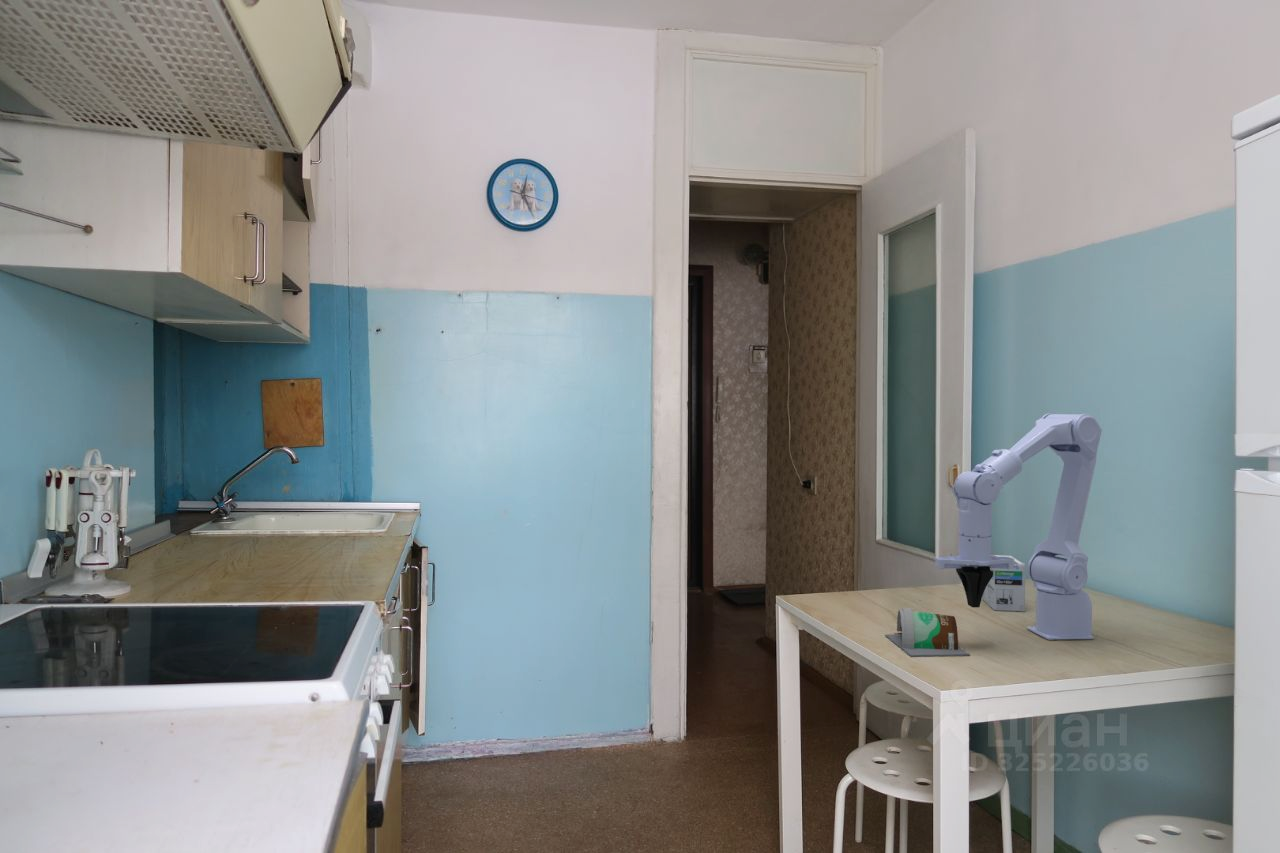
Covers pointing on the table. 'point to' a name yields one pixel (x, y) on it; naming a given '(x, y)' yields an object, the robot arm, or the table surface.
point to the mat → (925, 652)
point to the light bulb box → (1006, 588)
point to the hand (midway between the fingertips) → (973, 606)
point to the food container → (927, 630)
